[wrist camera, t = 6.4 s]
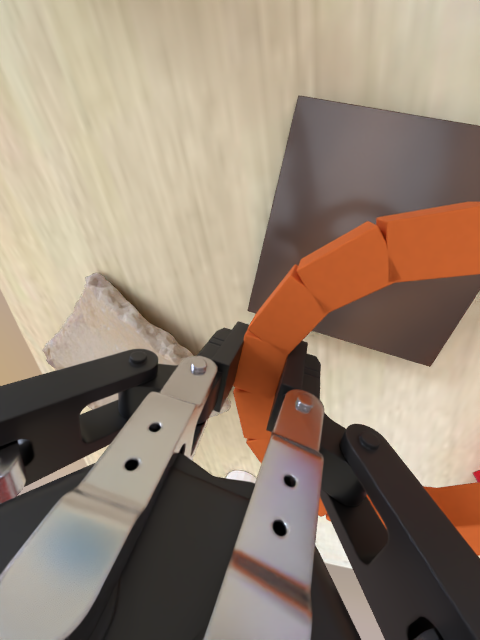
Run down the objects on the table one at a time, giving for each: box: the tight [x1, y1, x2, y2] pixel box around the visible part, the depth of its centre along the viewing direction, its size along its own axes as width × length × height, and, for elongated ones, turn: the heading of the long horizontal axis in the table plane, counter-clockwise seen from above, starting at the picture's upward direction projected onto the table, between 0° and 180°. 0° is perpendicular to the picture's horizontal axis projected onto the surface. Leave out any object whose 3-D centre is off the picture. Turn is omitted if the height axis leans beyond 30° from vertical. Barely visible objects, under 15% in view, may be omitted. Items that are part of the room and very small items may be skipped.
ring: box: [233, 202, 480, 555], centre depth 11 cm, size 15×15×2 cm
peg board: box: [248, 96, 480, 367], centre depth 22 cm, size 19×19×8 cm
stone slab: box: [42, 273, 231, 417], centre depth 36 cm, size 24×8×20 cm
